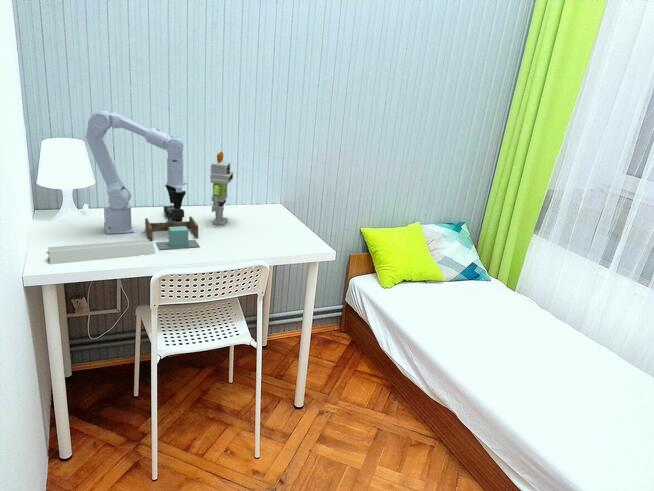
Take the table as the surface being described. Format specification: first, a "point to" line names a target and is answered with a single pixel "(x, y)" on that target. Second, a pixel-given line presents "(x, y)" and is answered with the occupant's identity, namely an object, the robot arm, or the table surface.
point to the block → (178, 236)
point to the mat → (167, 246)
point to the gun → (174, 213)
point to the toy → (220, 187)
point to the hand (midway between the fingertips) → (175, 205)
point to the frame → (165, 226)
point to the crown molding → (99, 251)
